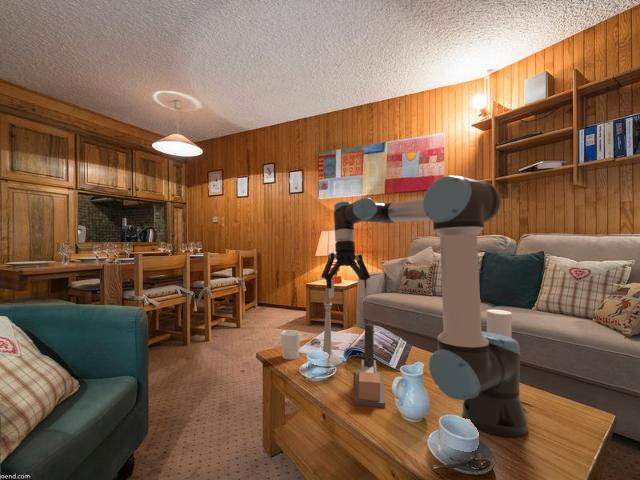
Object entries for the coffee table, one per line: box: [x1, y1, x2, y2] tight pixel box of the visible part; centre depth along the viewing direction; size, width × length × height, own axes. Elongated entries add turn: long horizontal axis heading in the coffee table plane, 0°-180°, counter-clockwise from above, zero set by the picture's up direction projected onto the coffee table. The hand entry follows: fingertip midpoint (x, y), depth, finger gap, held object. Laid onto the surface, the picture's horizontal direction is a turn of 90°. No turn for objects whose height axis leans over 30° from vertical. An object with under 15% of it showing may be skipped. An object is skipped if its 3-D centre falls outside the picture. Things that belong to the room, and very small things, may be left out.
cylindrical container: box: [486, 308, 513, 338], centre depth 101 cm, size 7×7×25 cm
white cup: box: [280, 329, 301, 360], centre depth 125 cm, size 8×8×10 cm
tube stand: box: [353, 359, 386, 408], centre depth 99 cm, size 22×9×6 cm, turn 172°
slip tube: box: [364, 323, 375, 373], centre depth 102 cm, size 12×3×17 cm, turn 172°
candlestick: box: [322, 286, 344, 367], centre depth 121 cm, size 13×13×30 cm
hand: (347, 297), depth 112 cm, fingers open, 13 cm apart
